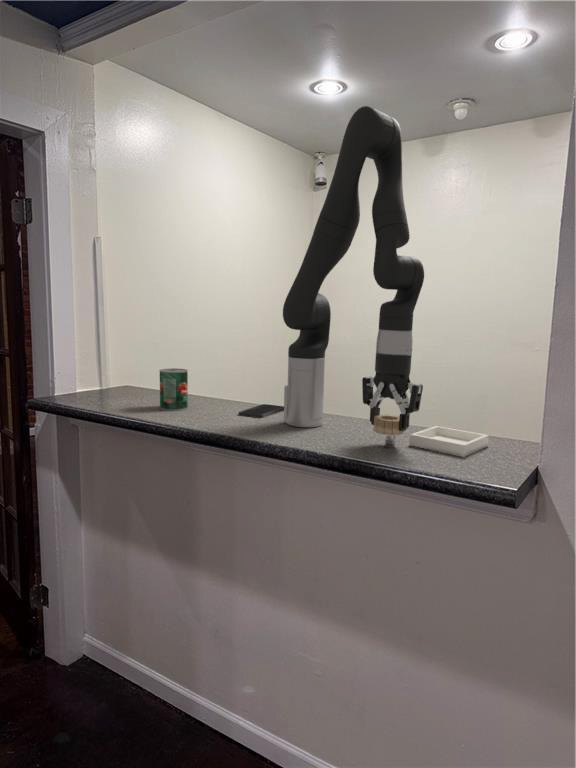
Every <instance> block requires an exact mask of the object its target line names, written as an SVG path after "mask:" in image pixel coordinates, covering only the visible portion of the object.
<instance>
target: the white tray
mask: <svg viewBox="0 0 576 768" xmlns="http://www.w3.org/2000/svg"><path fill="white" fill-rule="evenodd" d="M489 437H490V435H489V434H484V433H483V434H482V433H478V432H473V431H467V430H461V429H456V428H455V429H454V428H451V427H450V428H449V427H445V426H438V425H435V426H431V427H429V428H425V429H422V430H420V431H417V432H413V433H411V434H409V443H408V445H410V447H414V446H415V448H418V447H419V448H420V449H423V448H424V450H428V449H429V450H428V451H434V452H437V451H438V453H442V454H449V455H451V456H457V457H461V458H465V457H468V456H471V455H472V454H474V453H476V452H478V451H481V450H483V449H485V448H487V447H489V439H490V438H489Z"/></svg>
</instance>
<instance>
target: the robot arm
mask: <svg viewBox="0 0 576 768" xmlns="http://www.w3.org/2000/svg"><path fill="white" fill-rule="evenodd" d="M402 137H403V136H402V130H401V126H400V124H399V122H398V121H397V119H395V118H394V117H392V116H391V115H388V114H386V113H384V112H383V111H380V110H378V109H376V108H374V107H372V106H370V105H369V106H368V105H364V106H362V107H359V108H357V110H356V111H354V113H353V114H352V115H351V117H350V119H349V121H348V123H347V126H346V129H345V131H344V135H343V139H342V143H341V146H340V151H339V153H338V158H337V161H336V165H335V169H334V171H333V172H334V173H333V176H332V179H331V183H330V185H329V188H328V191H327V194H326V197H325V199H324V202H323V205H322V208H321V210H320V213H319V215H318V218H317V221H316V224H315V227H314V229H313V233H312V236H311V239H310V241H309V244H308V247H307V250H306V252H305V255H304V257H303V260H302V263H301V265H300V268H299V270H298V272H297V274H296V276H295V279H294V281H293V282H292V285H291V287H290V289H289V292H288V293H287V295H286V298H285V301H284V303H283V305H282V318H283V322H284V324H285V325H286V327H288V328H289V329H291V330H294V331H299V335H298V337H297V339H296V340H295V341H294V342H292V343H291V344H289V346H288V351H287V352H288V355H287V385H284V391H283V392H284V395H283V396H284V397H283V400H284V401H283V406H284V411H283V423H285V424H287V425H288V426H292V427H297V428H315V427H321V426H322V425H323V422H324V421H323V420H324V418H323V417H324V398H325V397H324V396H325V395H324V393H325V392H324V390H325V389H324V387H325V365H326V364H325V361H326V351H327V348H328V346H329V342H330V329H331V319H332V317H331V316H332V314H331V305H330V302H329V299H328V298H327V297H326V296H325V295H323V294H322V293H319V291H320V289H321V287H322V284H323V283H324V280H325V279H326V277H327V276H328V274H330V272H332V270H333V269H334V268H335V267H336V265H338V263H340V261H341V260H342V259H343V257H344V256H345V255H346V254H347V252H348V251H349V249H350V247H351V246H352V242H353V239H354V237H355V235H356V232H357V229H358V226H359V223H360V220H361V206H360V193H359V192H360V191H359V183H360V177H361V174H362V171H363V167H364V164H365V162H366V160H367V159H370V160H373V163H374V166H375V169H376V171H377V179H378V181H377V188H376V192H375V193H374V194H375V195H374V197H373V200H372V204H371V205H372V206H371V215H372V216H371V217H372V225H373V229H374V235H375V246H374V247H375V250H374V261H373V269H372V272H373V274H372V275H373V277H374V280H375V282H376V284H377V285H378V286H379V287H380V288H381V289H384V290H395V291H396V293H395V295H394V298H393V299H392V300H389V301H386V302H383V303H381V305H380V308H379V314H378V315H379V318H378V332H377V337H376V344H375V360H374V361H375V362H374V363H375V364H374V371H375V375H374V377H372V376H364V377H362V379H361V382H362V384H361V385H362V388H361V389H362V403H363V404H364V405H367V406H369V408H370V409H369V410H370V411H369V421H370V424H371V425H372V426H374V416H377V415H381V407H380V406H381V404H382V402H383V401H384V400H385V399H386V398H389V399H391V400H394V401H395V404H396V405H397V406H398V408H399V411H400V414H399V416H400V417H399V431H403V432H405V431H406V430H407V429H409V426H410V418H411V417H410V415H411V414H413V413H415V412H419V410H420V407H421V400H422V394H423V391H424V390H423V389H424V388H423V387H424V386H423V384H422V383H413V382H411V379H410V374H411V367H412V355H413V324H414V323H413V322H414V311H415V309H416V306H417V303H418V299H419V297H420V294H421V290H422V289H423V288H422V287H423V286H424V285H423V284H424V280H425V269H424V265H423V263H422V262H421V260H420V259H419V258H417V257H416V256H411V255H410V256H407V255H398V251H397V249H400V248H402V247H404V246H406V245H407V244H408V243H409V241H410V236H411V235H410V228H409V224H408V223H409V222H408V218H407V217H408V216H407V213H406V207H405V200H404V190H403V148H402V147H403V141H402V139H403V138H402ZM374 386H375V388H376V390H375V392H374ZM408 390H409V393H410V396H408V393H407V391H408Z"/></svg>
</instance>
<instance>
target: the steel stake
mask: <svg viewBox="0 0 576 768" xmlns="http://www.w3.org/2000/svg"><path fill="white" fill-rule="evenodd" d="M396 436H397V435H385V434H384V438H385V439H384V447H385V448H390V447H392V448H395V447H396Z"/></svg>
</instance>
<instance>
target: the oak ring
mask: <svg viewBox="0 0 576 768" xmlns="http://www.w3.org/2000/svg"><path fill="white" fill-rule="evenodd" d="M399 417H400V415H399V416H398V415H394V414H380V415H377V416H374V425H373V432H374V433H377V434H380V435H384V436H385V435H396V436H400V435H403V434H404V431H399Z"/></svg>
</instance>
